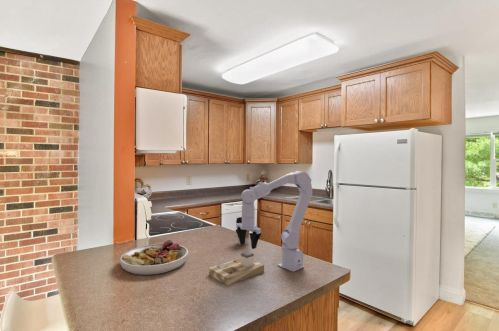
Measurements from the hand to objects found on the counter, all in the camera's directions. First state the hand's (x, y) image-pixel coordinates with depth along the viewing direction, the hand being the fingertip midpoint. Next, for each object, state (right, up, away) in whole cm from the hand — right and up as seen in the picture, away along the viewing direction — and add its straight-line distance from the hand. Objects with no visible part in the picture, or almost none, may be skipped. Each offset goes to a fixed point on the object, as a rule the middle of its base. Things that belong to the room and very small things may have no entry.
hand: (248, 246), depth 125 cm
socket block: (-5, -10, -5) cm, 12 cm away
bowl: (-44, -10, +5) cm, 45 cm away
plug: (0, -10, -4) cm, 11 cm away
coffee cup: (-3, -9, +36) cm, 37 cm away
